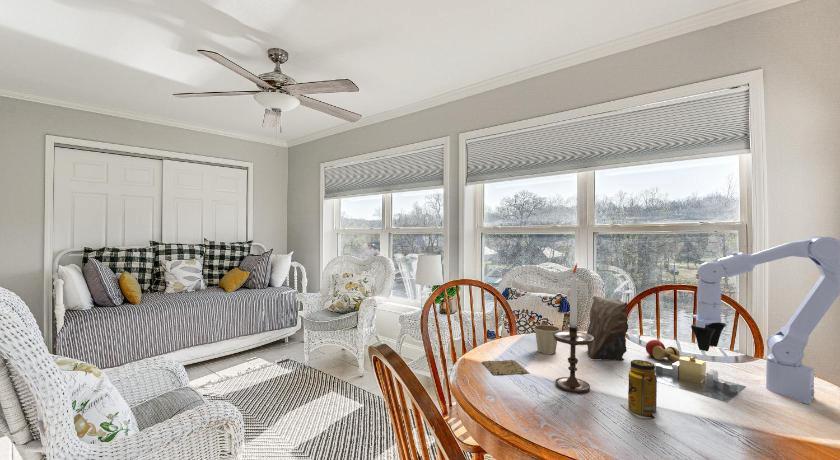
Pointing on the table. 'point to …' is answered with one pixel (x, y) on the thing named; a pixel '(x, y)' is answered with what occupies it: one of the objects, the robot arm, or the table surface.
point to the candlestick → (573, 344)
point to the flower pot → (546, 338)
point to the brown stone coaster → (504, 367)
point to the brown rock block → (608, 329)
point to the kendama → (662, 351)
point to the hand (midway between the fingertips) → (708, 348)
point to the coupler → (692, 369)
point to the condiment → (642, 389)
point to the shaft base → (708, 388)
